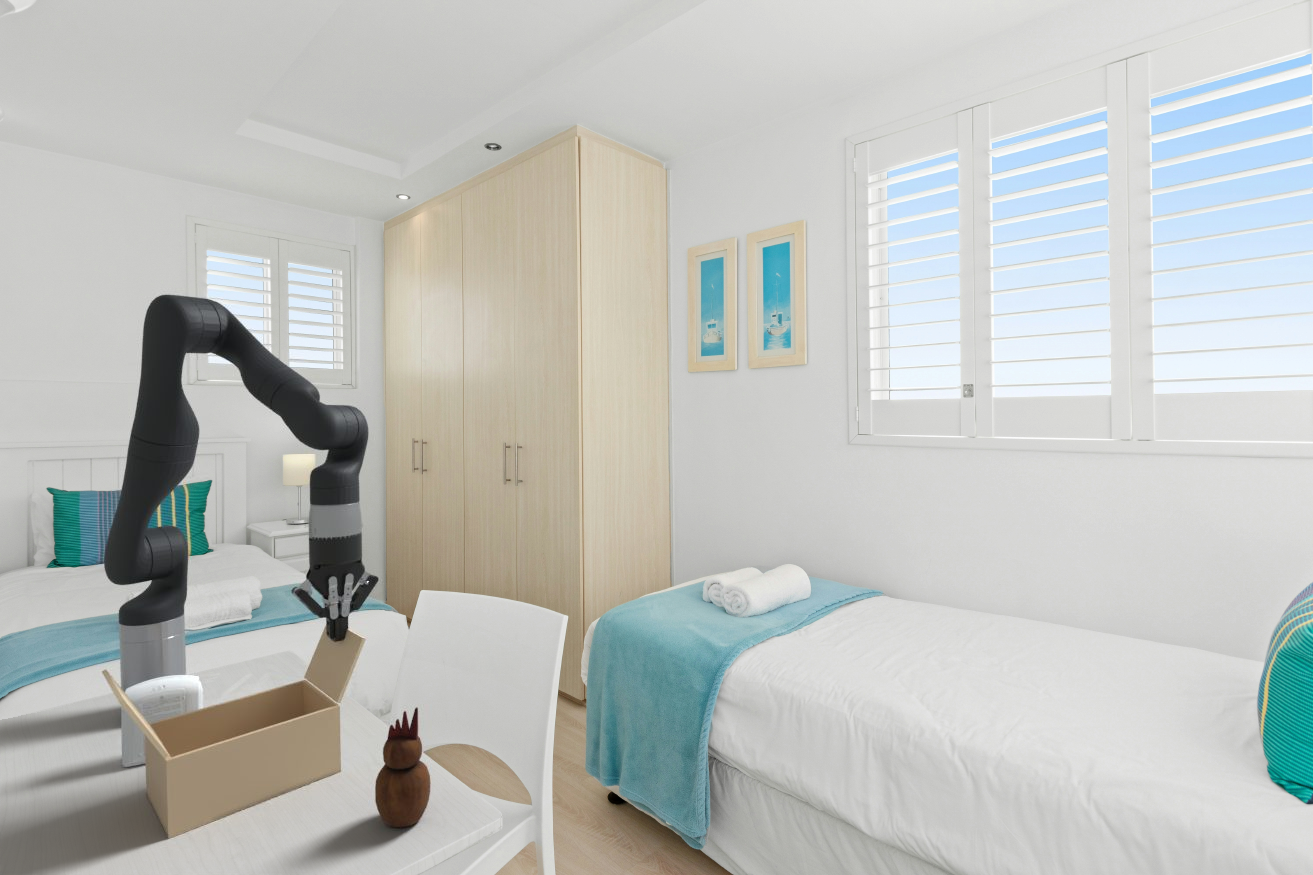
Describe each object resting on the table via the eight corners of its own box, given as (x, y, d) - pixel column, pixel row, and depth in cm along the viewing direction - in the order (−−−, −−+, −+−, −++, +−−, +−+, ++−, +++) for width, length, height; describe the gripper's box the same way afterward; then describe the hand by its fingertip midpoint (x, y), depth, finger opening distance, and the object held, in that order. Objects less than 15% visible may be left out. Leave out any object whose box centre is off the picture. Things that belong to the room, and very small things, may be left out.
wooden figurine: (439, 811, 87) (437, 702, 87) (409, 838, 82) (408, 721, 81) (398, 801, 90) (396, 695, 89) (366, 827, 84) (365, 713, 84)
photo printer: (204, 740, 106) (202, 666, 106) (203, 752, 103) (201, 675, 102) (124, 759, 101) (121, 680, 100) (120, 771, 97) (117, 690, 97)
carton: (146, 794, 91) (144, 724, 91) (306, 739, 107) (305, 679, 106) (168, 838, 82) (166, 760, 81) (341, 771, 97) (339, 705, 97)
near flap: (147, 720, 91) (143, 723, 91) (105, 668, 88) (101, 671, 87) (168, 755, 82) (164, 758, 81) (123, 699, 78) (118, 702, 78)
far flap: (328, 618, 109) (331, 619, 109) (303, 677, 106) (306, 677, 106) (362, 637, 99) (365, 638, 100) (337, 702, 97) (340, 702, 97)
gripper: (367, 523, 110) (369, 625, 110) (281, 533, 100) (283, 645, 101) (387, 528, 105) (389, 635, 105) (298, 540, 95) (300, 657, 95)
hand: (337, 639), depth 103 cm, fingers closed
